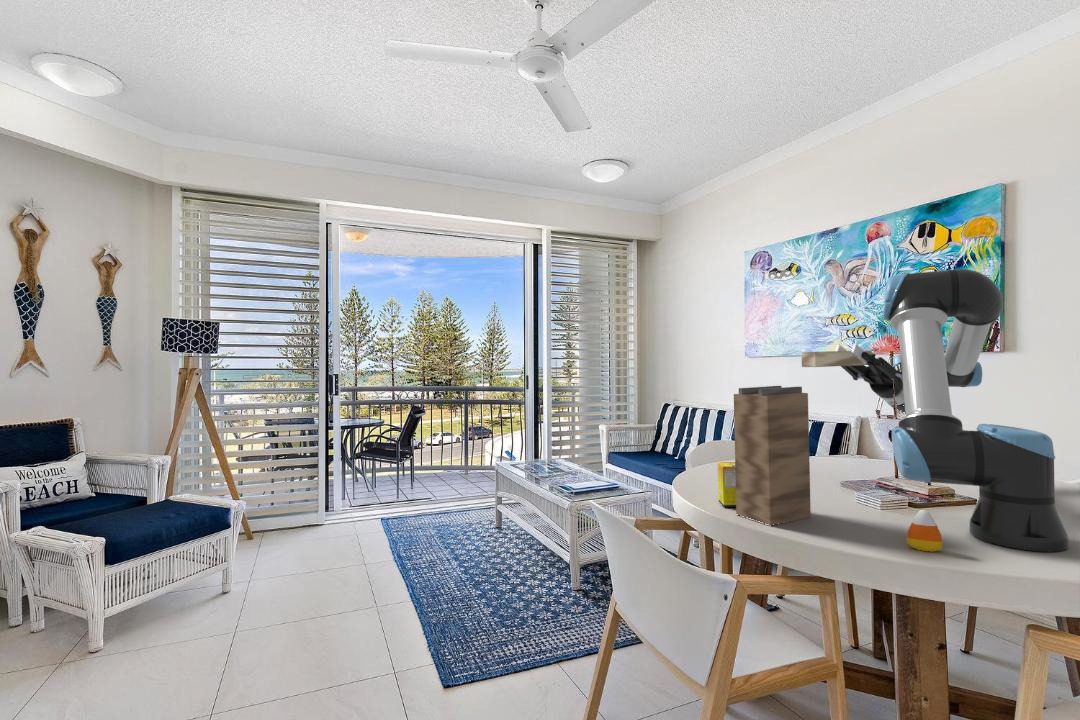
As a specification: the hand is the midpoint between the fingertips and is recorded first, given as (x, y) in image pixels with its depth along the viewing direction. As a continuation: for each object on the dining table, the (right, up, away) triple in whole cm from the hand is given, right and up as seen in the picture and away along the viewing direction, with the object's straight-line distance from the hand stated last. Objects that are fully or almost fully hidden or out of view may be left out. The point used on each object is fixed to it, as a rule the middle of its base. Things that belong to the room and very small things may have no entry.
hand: (845, 348), depth 144 cm
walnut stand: (-27, -41, -16) cm, 52 cm away
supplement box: (-33, -42, -6) cm, 54 cm away
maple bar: (-3, -5, -2) cm, 6 cm away
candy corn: (-7, -41, -40) cm, 58 cm away
